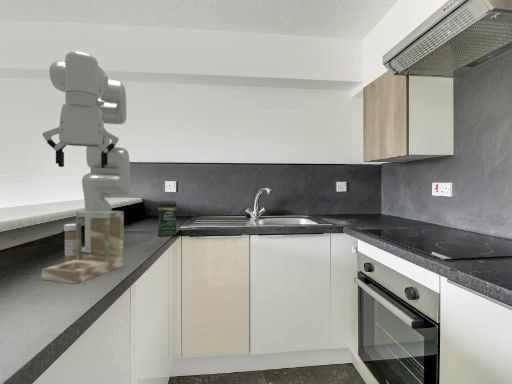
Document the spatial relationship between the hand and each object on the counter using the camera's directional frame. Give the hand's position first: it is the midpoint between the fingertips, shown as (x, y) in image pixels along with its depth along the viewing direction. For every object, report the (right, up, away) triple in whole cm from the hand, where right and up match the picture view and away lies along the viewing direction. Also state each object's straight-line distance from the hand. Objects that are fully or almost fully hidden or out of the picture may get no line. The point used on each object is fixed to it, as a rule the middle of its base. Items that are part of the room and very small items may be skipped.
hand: (82, 167), depth 77 cm
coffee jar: (-1, -30, +77) cm, 83 cm away
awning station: (-5, -31, +12) cm, 34 cm away
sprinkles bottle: (-15, -31, +20) cm, 40 cm away
